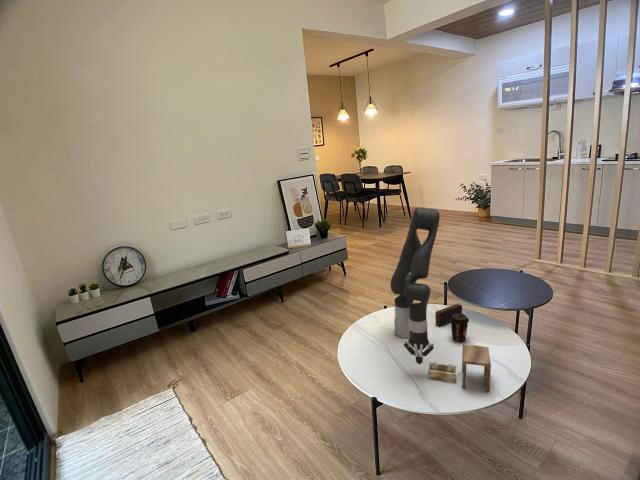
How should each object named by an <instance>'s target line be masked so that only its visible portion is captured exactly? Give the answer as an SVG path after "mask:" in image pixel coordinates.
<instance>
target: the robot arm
mask: <svg viewBox="0 0 640 480" xmlns="http://www.w3.org/2000/svg"><path fill="white" fill-rule="evenodd" d="M440 217H441V216H440V212H439V210H437V209H433V208H428V207H427V208H426V207H419V206H418V207H415V209H414V210H413V212H412V216H411V219H410V222H409V223H410V224H409V228H408V232H407V236H406V239H405V241H404V245H403V247H402V250H401V254H400V256H399V260H398V263H397V266H396V267H395V270H394V272H393V275H392V277H391V279H390V290H391V291H392V293H393V294H395V295H397V296H396V297H395V298H394V322H393V323H394V336H397V337H398V338H401V339H408V340H407V341H404V343H403V347H404V348H405V349H406V350H407V351H408V353H409V354H410V355H411V356H415V362H416V364H417V365H421V364H423V361H424V358H423V357H427V356H428V355H429V354H430V353H431V352H433V350H434V347H435V346H434V345H435V344H434V343H430V340H429V337H428V320H427V307H428V303H429V299H430V297H431V288H430V286H429V285H428V284H424V283H416V282H418V280H421V279H427V278H428V276H429V271H430V266H431V265H430V262H431V259H432V257H431V256H432V252H433V248H434V246H435V245H434V244H435V241H436V237H437V232H438V229H439V225H440ZM418 230H424V231H428V233H427V237H426V239H425V240H424V242H423V243H421V241H420V239H419V237H418V232H417V231H418ZM414 301H418V302H415V303H414Z"/></svg>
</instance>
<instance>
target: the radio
mask: <svg viewBox="0 0 640 480" xmlns="http://www.w3.org/2000/svg"><path fill="white" fill-rule="evenodd" d="M434 304H435V305H438V304H439V305H440V304H442V305H443V302H442V303H439V302H435V303H434ZM456 313H462V314H463V305H462V304H459V303H453V304H452V305H450V306H447V307H445V308H441V309H440V310H437V311H435V326H436V327H437V328H442V327H444V326H445V327H446V326H447V325H451V321H450V318H451V317H452V315H453V314H456Z"/></svg>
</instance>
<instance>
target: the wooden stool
mask: <svg viewBox="0 0 640 480" xmlns="http://www.w3.org/2000/svg"><path fill="white" fill-rule="evenodd" d="M490 356H491V355H490V350H489V346H483V345H481V346H480V345H473V344H463V343H462V355H461V357H462V358H461V359H462V362H461V372H462V385H461V387H462V389H464V390H466V387H467V365H471V366H472V365H473V366H479V367H480V366H481V367H484V368H483V375H484V383H485V392H486V393H488V392H490V389H491V371H492V363H491V357H490Z"/></svg>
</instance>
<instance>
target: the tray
mask: <svg viewBox="0 0 640 480" xmlns="http://www.w3.org/2000/svg"><path fill="white" fill-rule="evenodd" d="M428 363H429V364H428V379H429V380H435V381H441V382H448V383H449V382H450V383H453V384H454V383H457V365H453V364H445V363H439V362H430V361H429V362H428Z"/></svg>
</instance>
